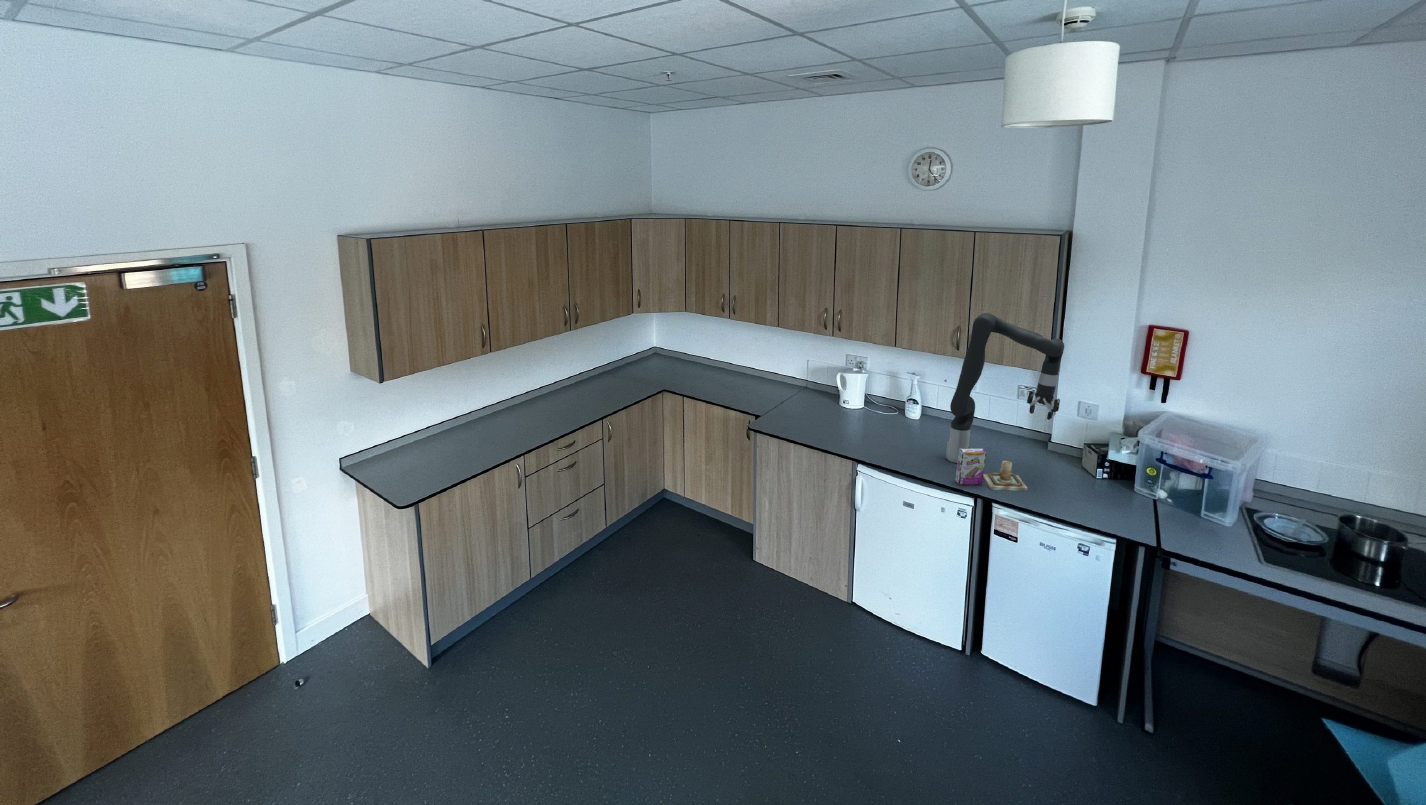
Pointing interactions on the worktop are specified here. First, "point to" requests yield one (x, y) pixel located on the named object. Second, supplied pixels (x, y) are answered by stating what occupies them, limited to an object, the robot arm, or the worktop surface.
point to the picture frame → (996, 485)
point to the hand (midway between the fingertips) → (1040, 416)
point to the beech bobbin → (1005, 472)
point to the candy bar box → (970, 466)
